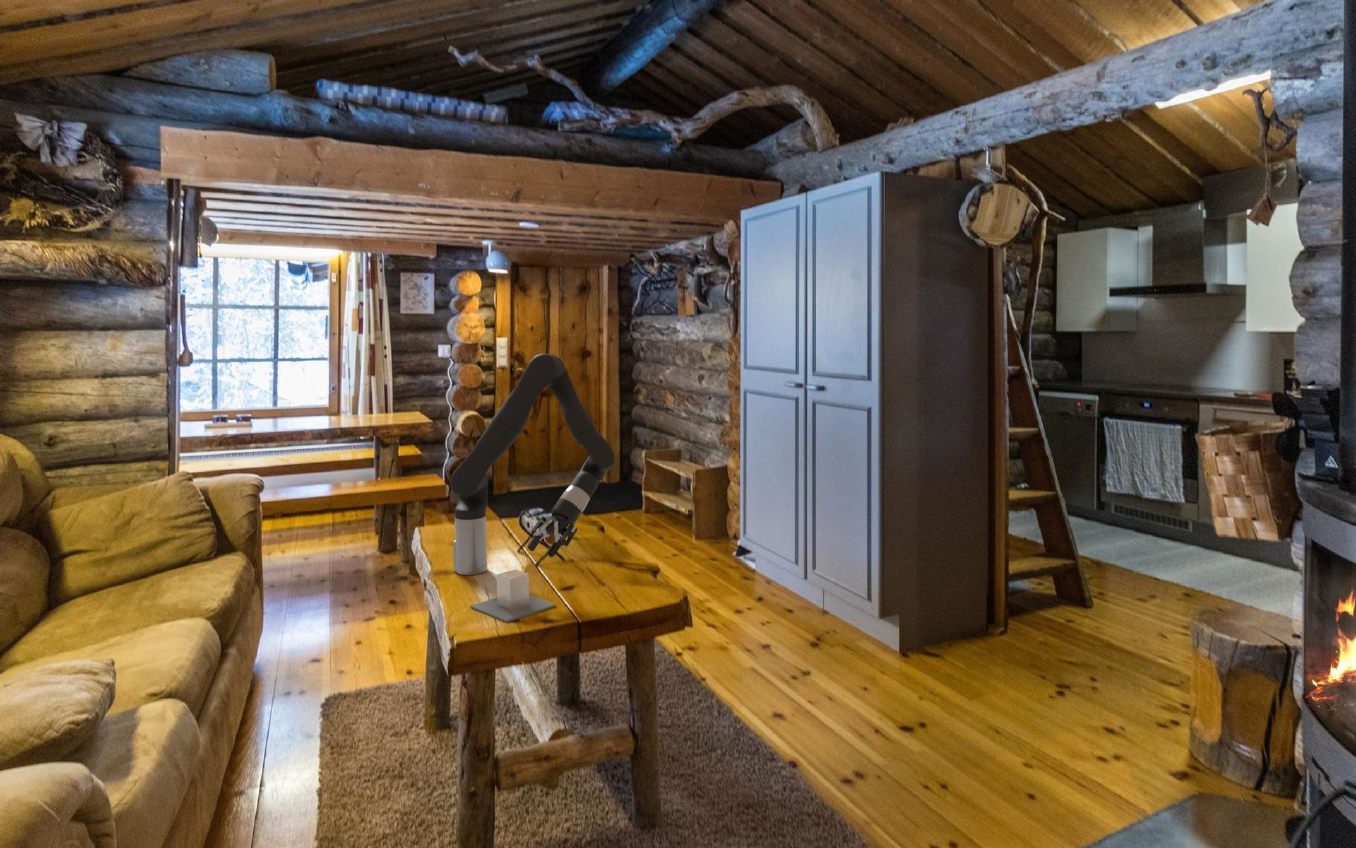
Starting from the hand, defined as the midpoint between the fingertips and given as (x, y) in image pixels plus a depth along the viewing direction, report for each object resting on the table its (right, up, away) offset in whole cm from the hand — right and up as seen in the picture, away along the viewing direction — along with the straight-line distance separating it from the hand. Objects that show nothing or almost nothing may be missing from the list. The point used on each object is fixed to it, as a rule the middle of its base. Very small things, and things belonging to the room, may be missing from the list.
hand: (539, 552), depth 211 cm
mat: (-6, -14, -5) cm, 16 cm away
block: (-6, -13, -5) cm, 15 cm away
